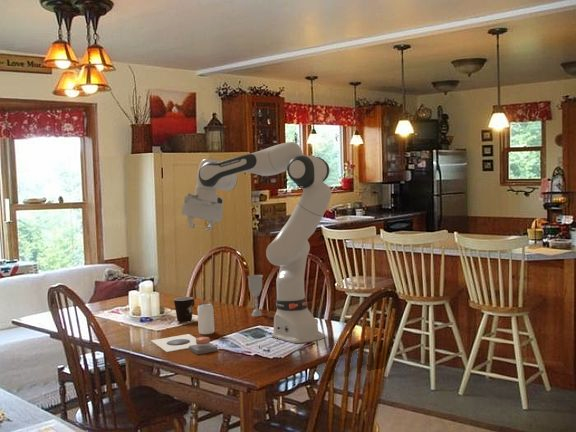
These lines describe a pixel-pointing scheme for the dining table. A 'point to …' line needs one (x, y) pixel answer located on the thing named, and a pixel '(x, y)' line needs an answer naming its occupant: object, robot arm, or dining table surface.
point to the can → (205, 318)
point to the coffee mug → (184, 308)
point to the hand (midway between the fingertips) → (200, 229)
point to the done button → (202, 340)
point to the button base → (203, 348)
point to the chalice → (255, 291)
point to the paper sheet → (175, 342)
